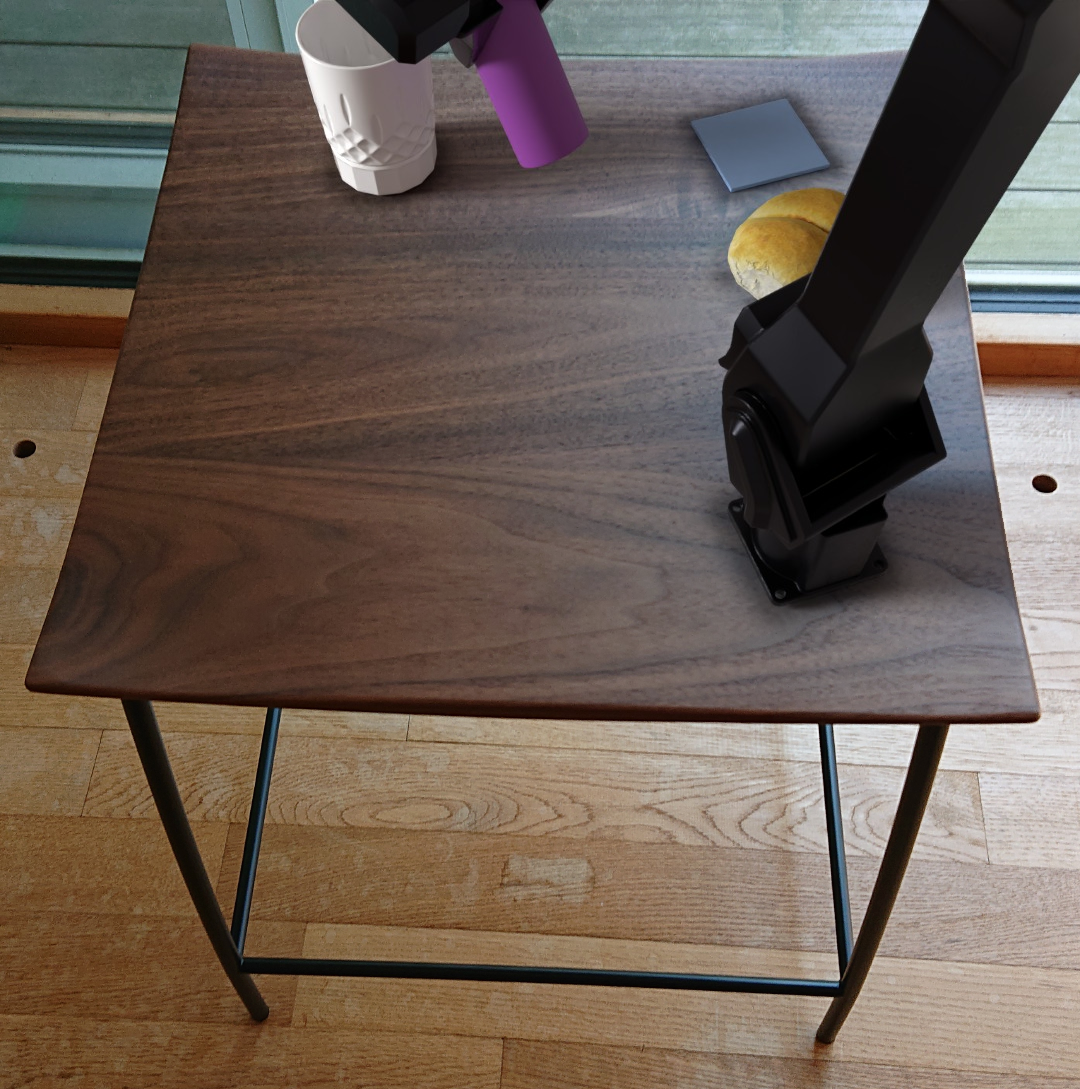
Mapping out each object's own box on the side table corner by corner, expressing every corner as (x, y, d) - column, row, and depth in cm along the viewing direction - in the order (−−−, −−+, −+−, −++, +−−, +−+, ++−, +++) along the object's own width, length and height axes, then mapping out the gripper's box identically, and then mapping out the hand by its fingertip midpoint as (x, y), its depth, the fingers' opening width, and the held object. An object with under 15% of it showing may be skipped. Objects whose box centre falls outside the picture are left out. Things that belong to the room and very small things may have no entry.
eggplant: (563, 164, 61) (476, -39, 54) (506, 172, 64) (417, -19, 57) (602, 124, 63) (523, -76, 56) (546, 133, 66) (464, -56, 59)
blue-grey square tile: (829, 167, 71) (830, 163, 71) (730, 192, 70) (731, 189, 70) (785, 101, 75) (786, 98, 74) (690, 124, 74) (691, 121, 74)
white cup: (316, 140, 74) (281, 4, 66) (425, 110, 75) (405, -27, 67) (346, 216, 70) (314, 82, 62) (461, 183, 72) (445, 48, 63)
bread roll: (897, 256, 67) (915, 206, 64) (811, 338, 64) (824, 291, 61) (790, 194, 70) (801, 143, 67) (702, 270, 67) (709, 221, 64)
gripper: (550, -430, 49) (517, -130, 64) (223, -251, 44) (269, 30, 59) (723, -278, 48) (648, -8, 63) (406, -75, 43) (406, 167, 58)
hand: (495, 39), depth 61 cm, fingers closed on eggplant, 4 cm apart
